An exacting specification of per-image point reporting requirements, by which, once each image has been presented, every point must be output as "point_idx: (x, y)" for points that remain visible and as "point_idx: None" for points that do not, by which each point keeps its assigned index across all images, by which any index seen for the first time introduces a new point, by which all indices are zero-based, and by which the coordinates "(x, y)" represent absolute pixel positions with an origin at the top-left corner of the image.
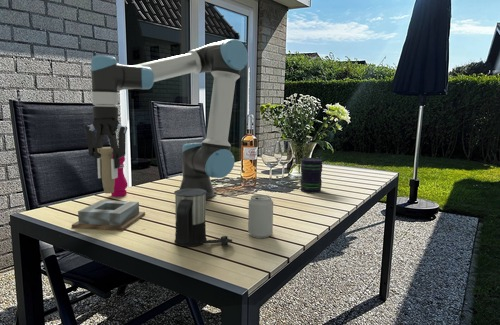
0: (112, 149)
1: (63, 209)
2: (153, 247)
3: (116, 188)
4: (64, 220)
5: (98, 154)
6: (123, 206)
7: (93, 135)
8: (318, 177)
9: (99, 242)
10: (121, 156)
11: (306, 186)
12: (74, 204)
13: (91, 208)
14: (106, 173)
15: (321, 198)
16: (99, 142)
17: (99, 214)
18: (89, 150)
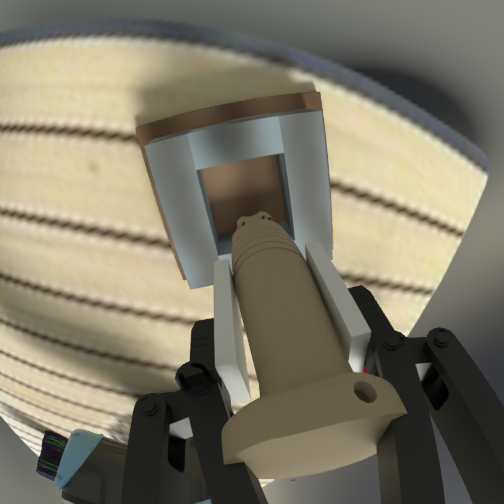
0: (224, 451)
1: (430, 231)
2: (7, 83)
3: (364, 369)
4: (381, 148)
5: (377, 368)
6: (199, 225)
7: (481, 494)
8: (41, 450)
9: (138, 25)
10: (139, 398)
11: (53, 440)
12: (423, 273)
13: (298, 158)
14: (259, 264)
15: (21, 413)
16: (402, 477)
17: (229, 123)
18: (463, 360)
